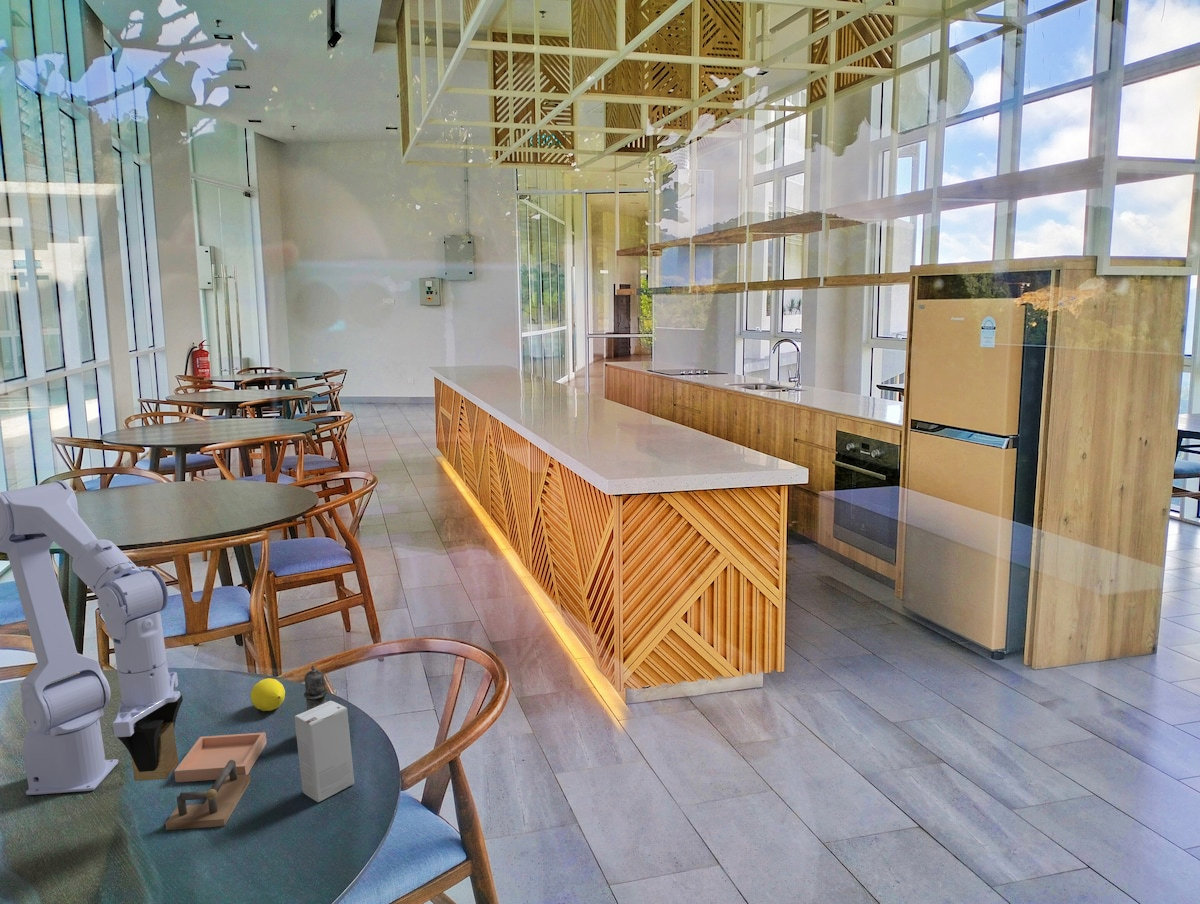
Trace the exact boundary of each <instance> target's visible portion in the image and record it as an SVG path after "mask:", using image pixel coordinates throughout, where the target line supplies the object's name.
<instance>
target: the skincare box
mask: <svg viewBox="0 0 1200 904" xmlns="http://www.w3.org/2000/svg"><path fill="white" fill-rule="evenodd" d="M348 714H349V713H348V708H347V707H346V706H344V705H343V704H339V703H338V702H336V701H333V700H329V701H327V702H326V703H324V704H322V705H319V706H317V707H315V708H312V709H310V710H308V711H303V712H301V713H298V714H297V715H295V716H294V726H295V734H296V743H297V751H298V752H297V754H298V761H299V771H300V778H301V779H300V780H301V790H302V793H304V795H306V796H307V797H308V798H310V799H312V800H313V801H315V802H316V803H321V802H323V801H324V800H326V799H328V798H330V797H332V796H333V795H336V794H338V793H339V792H342V791H343V790H345V789H347V788H349V787H351V786H353V785H354V784H355V777H354V776H355V775H354V767H353V757H352V746H351V735H350V726H349V725H350V724H349V717H348V716H349V715H348Z"/></svg>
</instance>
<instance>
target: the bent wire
mask: <svg viewBox="0 0 1200 904" xmlns="http://www.w3.org/2000/svg"><path fill="white" fill-rule="evenodd" d="M228 775H229V776H228ZM251 778H252V777H251V774H249V773H248V774H247V775H237V770H236V762H235V761H234V760H230V761H229V762H228V763H227V765H226V766H225V768H224V769H223V771H222V772H221V774H220V775H219V777H218V778H217V779H216V780H215V782H214V783H213V785H212V786H211V788H210V789H208V790H200V791H186V792H180V793H179V795H177V797H176V802H177V806H176V807H175V809H174V810H173V811H172V813H171V814H170V816H169V818H168V819H167V820H166V821H165V823H164V824H165V830H166V831H174V830H187V829H188V830H189V829H199V828H200V829H201V828H202V829H203V828H214V827H225V825H226V824H227V823H228V820H229V819H230V817H231V815H232V814H233V812H234V810H235V809H236V807H237V805H238V803H239V802H240V800H241V798H242V797H243V795H244V793H245V791H246V790H247V788H248V786H249V784H250V783H251V781H252V779H251ZM195 800H205V801H204V803H199V804H187V801H195Z"/></svg>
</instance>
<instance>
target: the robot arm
mask: <svg viewBox="0 0 1200 904" xmlns="http://www.w3.org/2000/svg"><path fill="white" fill-rule="evenodd" d="M53 542H54V543H55V544H56V545H57V546H58V547H60V548H61V549H62V550H64V551H65V552H66V553H67V555H70V556H71V558H72V562H71V569H72V570H73V572H74V574H76V575H77V577H78V578H79V579H80V580H81V581H82V582H83V583H84V584H85V586H87V587H88V588H89V589H90V590H91V592H93V593H94V595H96V597H97V601H96V602H97V607H98V609H99V612H100V614H101V616H102V618H103V620H104V623H105V629H106V632H107V634H108V637H110V638H112V643H113V648H114V655H115V663H116V671H117V678H118V684H119V690H120V691H119V692H120V697H121V699H120V701H119V704H118V710H117V715H116V718H115V720H114V721H113V722H112V733H113V737H114V738H117V739H118V740H119V741H120V742H121V743H122V744H123V746H125V748H126V749H127V751H128V752H129V754H130V757H131V756H132V759H133V761H134V763H135V765H136V767H137V769H138V771H139V772H146V771H155V770H156V768H157V764H158V739H159V733H160V729H161V726H162V724H163V722H173V725H174V728H175V726H176V720H177V716H178V713H179V710H180V707H181V705H182V703H183V695H182V694H181V691H179V690H174V689H176V688H177V687H179V686H178V685H179V679H178V673H177V671H176V672H169V667H168V659H167V653H166V645H165V644H166V643H165V637H164V636H165V635H164V630H163V629H164V628H163V622H162V621H163V619H162V615H161V614H162V613H161V612H162V611H164V610H166V608H167V606H168V603H169V591H168V587H167V584H166V582H165V580H164V578H163V577H162V575H161V574H160V573H159V572H158V570H157V569H154V568H152V567H148V568H146V567H145V566H137V565H136V564H135V563H134V562H133V561H132V560H131V559H130V558H129V557H128V556H127V555H126V554H125V553H124V551H122V549H120V548H119V547H118V546H117V545H116V544H115V543H114V542H113V541H111V540H110V539H109V540H108V539H98V538H97V536H96V535H95V534H94V533H93V531H92V530H91V529H90V528H89V526H88V525H87V523H86V522H85V521H84V520H83V518H82V517H81V516H80V514H79V505H78V499H77V496H76V493H75V491H74V489H73V488H72V487H71V486H70V485H69V484H68V483H67V482H66V481H64V480H61V479H60V480H55V481H53V482H49V483H44V484H38V485H33V486H27V487H21V488H16V489H12V490H6V491H0V553H4V554H6V555H7V559H8V562H9V564H10V567H11V570H12V574H13V575H12V576H13V578H14V582H15V586H16V589H17V592H18V596H19V601H20V604H21V607H22V611H23V614H24V619H25V622H26V625H27V628H28V629H27V630H28V632H29V633H28V634H29V635H30V640H31V643H32V648H33V651H34V654H35V658H36V665H35V666H34V667H33V668H32V669H31V671H29V673H28V674H27V675H26V677H25V678H24V679H23V680H22V682H21V683H20V693H21V699H22V701H21V703H22V704H21V708H22V709H21V710H22V714H23V717H24V719H25V722H26V723H27V725H28V726H29V729H28V730H27V732H26V733H25V736H24V739H23V745H22V756H23V761H24V767H25V774H26V780H27V785H28V789H27V790H26V791H25V795H27V796H32V795H34V796H35V795H48V794H62V793H75V792H89V791H94V790H95V789H96V788H97V787H98V786H99V785H100V784H101V783H102V782H103V780H104V779H106V778H107V776H108V775H109V774H110V773H111V771H113V769H114V768H115V767H116V766H117V765H118V764H119V759H117V758H116V759H114V758H113V759H106V756H105V748H104V742H103V735H102V733H103V732H102V727H101V719H100V718H101V717H103V716H104V714H105V713H104V709H105V708H107V707H108V706H109V703H110V700H111V696H112V695H111V687H110V685H109V681H108V679H107V678H106V675H105V674H104V673H103V670H102V668H101V664H100V663H99V660H97V659H95V658H94V657H91V656H87V655H84V654H82V653H79V652H78V651H77V648H76V647H77V646H76V645H75V644H76V643H75V640H74V636H73V633H72V629H71V626H70V621H69V619H68V616H67V615H68V614H67V611H66V608H65V603H64V600H63V597H62V593H61V589H60V585H59V582H58V578H57V574H56V572H55V567H54V564H53V561H52V556H51V553H50V550H51V547H52V545H53ZM54 681H55V682H54Z"/></svg>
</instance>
